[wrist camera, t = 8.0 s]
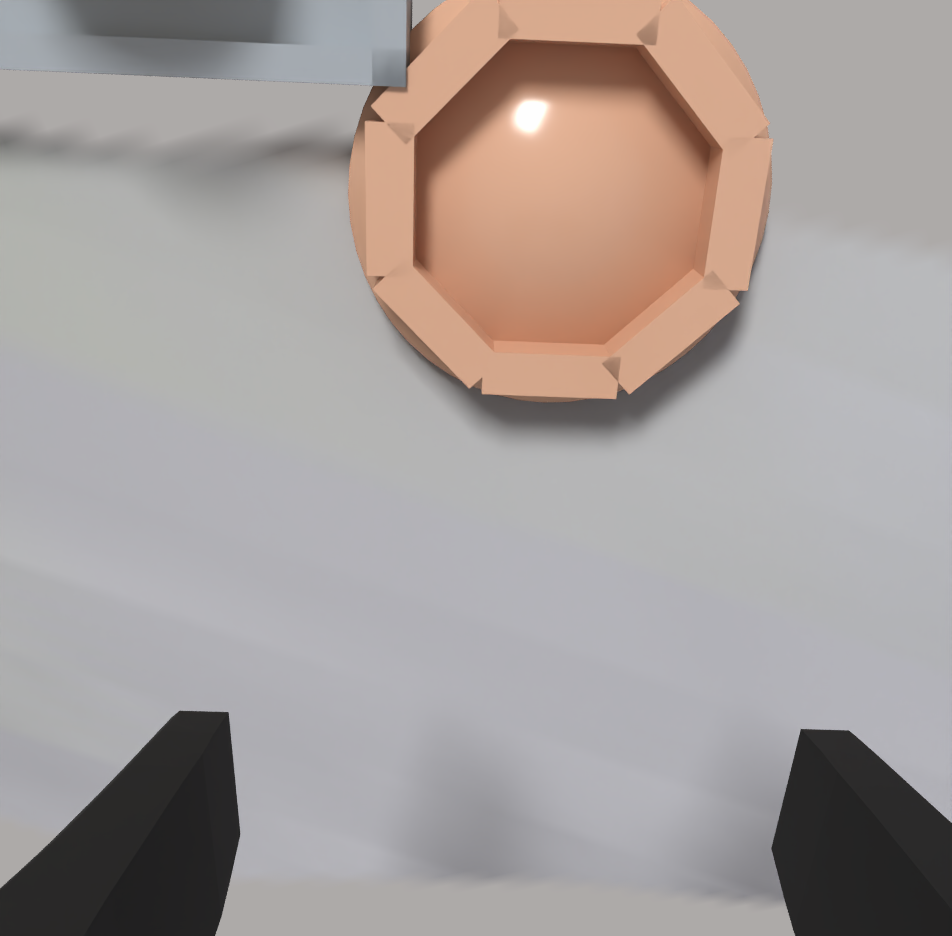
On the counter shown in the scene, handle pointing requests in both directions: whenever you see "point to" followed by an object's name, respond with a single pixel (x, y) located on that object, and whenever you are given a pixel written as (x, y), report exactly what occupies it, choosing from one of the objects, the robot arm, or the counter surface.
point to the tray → (212, 39)
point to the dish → (561, 191)
